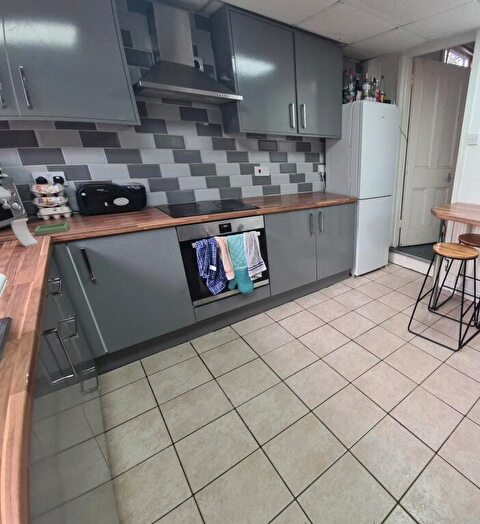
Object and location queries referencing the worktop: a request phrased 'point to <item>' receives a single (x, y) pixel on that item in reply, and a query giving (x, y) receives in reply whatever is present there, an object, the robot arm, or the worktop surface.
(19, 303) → the worktop surface
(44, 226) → the tray
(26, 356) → the worktop surface
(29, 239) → the light grey curved piece
